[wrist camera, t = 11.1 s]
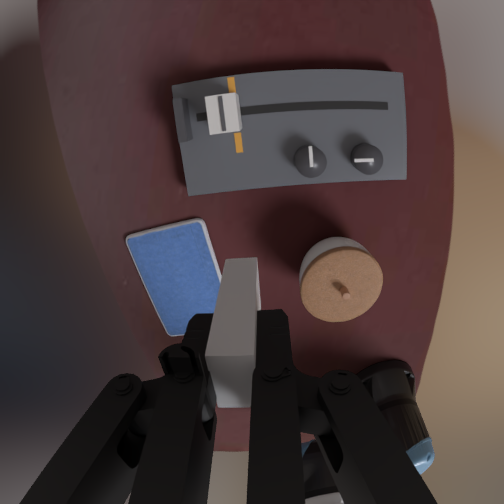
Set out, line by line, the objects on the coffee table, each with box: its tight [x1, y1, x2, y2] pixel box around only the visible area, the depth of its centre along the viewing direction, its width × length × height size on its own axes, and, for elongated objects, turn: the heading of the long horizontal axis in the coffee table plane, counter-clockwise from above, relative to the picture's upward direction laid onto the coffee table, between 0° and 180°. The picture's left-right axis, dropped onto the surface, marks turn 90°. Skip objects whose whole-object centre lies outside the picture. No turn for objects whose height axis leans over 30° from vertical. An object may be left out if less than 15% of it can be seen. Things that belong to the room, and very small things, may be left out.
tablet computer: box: [126, 218, 222, 336], centre depth 46 cm, size 19×13×1 cm, turn 13°
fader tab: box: [205, 92, 242, 135], centre depth 30 cm, size 4×3×5 cm
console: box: [172, 69, 407, 196], centre depth 33 cm, size 14×28×5 cm, turn 96°
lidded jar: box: [299, 237, 383, 322], centre depth 39 cm, size 11×11×9 cm
